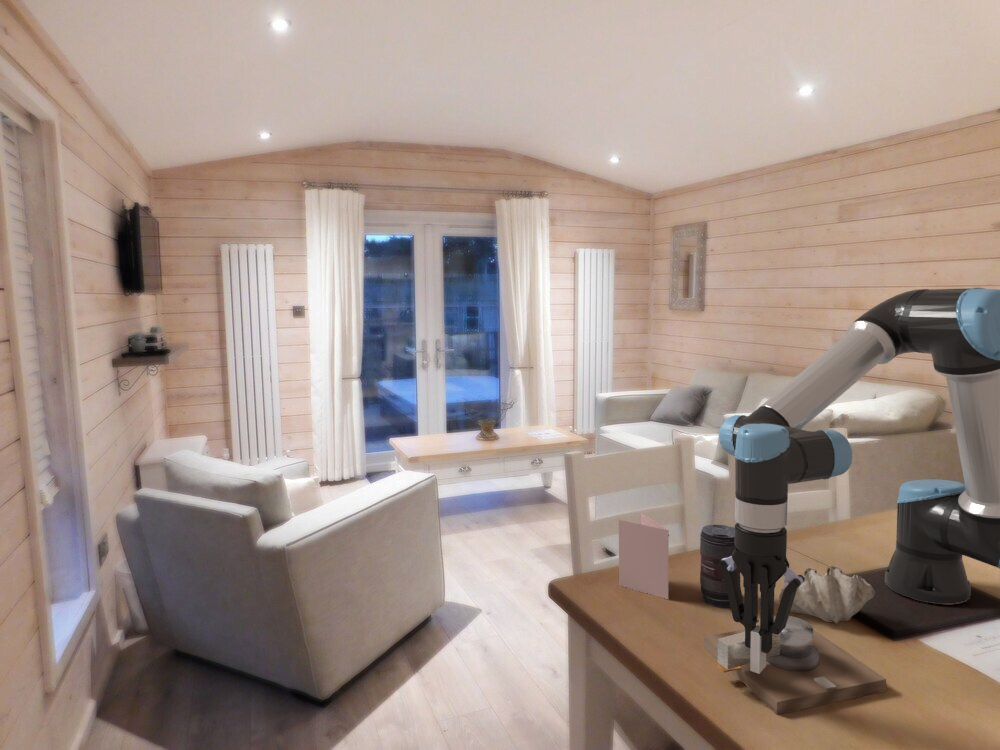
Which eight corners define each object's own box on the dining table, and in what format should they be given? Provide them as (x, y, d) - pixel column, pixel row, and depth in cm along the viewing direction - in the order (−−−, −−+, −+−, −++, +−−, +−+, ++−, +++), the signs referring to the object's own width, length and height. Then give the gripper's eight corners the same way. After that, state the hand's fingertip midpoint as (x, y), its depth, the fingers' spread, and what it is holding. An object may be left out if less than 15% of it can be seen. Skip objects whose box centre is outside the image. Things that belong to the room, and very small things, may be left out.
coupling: (789, 632, 116) (790, 610, 115) (822, 651, 110) (823, 629, 109) (708, 655, 110) (708, 632, 109) (737, 677, 103) (738, 653, 103)
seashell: (856, 641, 120) (858, 588, 118) (775, 613, 130) (776, 565, 129) (876, 621, 126) (878, 571, 125) (798, 596, 137) (799, 550, 136)
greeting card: (672, 599, 138) (672, 529, 136) (640, 604, 136) (639, 534, 134) (645, 577, 149) (644, 512, 147) (614, 582, 147) (614, 516, 145)
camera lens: (743, 610, 132) (745, 538, 130) (701, 607, 134) (702, 536, 132) (737, 592, 140) (738, 524, 138) (698, 590, 141) (698, 522, 140)
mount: (799, 629, 124) (799, 612, 124) (885, 690, 105) (886, 670, 104) (688, 649, 118) (688, 631, 118) (758, 718, 99) (759, 696, 99)
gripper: (812, 527, 101) (808, 673, 103) (729, 510, 109) (728, 645, 112) (795, 541, 95) (792, 695, 98) (709, 522, 104) (708, 664, 107)
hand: (757, 668), depth 105 cm, fingers closed
